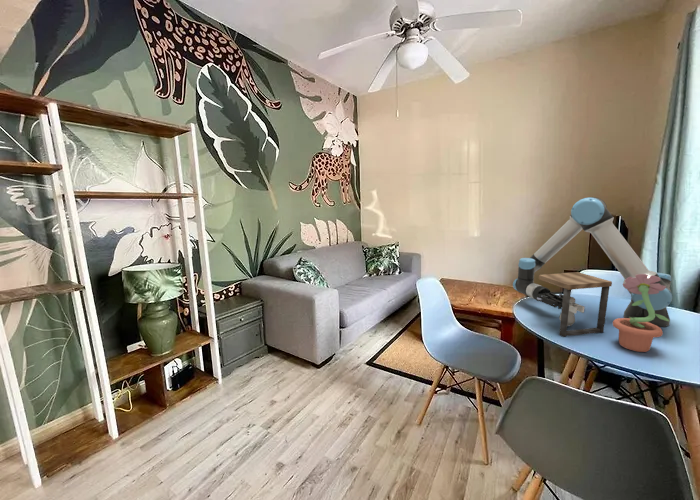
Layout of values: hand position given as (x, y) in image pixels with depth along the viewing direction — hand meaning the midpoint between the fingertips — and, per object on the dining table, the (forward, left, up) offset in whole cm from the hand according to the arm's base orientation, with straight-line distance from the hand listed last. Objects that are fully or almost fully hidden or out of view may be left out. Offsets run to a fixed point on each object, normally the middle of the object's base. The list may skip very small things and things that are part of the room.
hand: (579, 310), depth 127 cm
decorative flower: (-15, +11, -10) cm, 21 cm away
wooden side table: (+2, -4, -10) cm, 11 cm away
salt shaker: (+2, -5, -9) cm, 11 cm away
